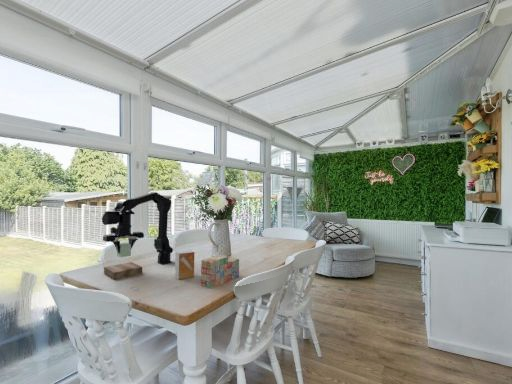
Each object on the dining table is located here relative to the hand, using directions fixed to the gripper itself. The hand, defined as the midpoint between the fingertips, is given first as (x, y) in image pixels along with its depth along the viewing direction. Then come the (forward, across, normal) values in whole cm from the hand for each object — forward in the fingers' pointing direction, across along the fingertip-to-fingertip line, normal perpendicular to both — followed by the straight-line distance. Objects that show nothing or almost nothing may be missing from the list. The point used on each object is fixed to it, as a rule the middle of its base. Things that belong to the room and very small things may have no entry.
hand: (123, 252), depth 136 cm
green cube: (+2, 0, 0) cm, 2 cm away
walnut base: (+12, 0, 0) cm, 12 cm away
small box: (+11, -20, +27) cm, 35 cm away
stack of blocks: (+11, -29, +45) cm, 55 cm away
